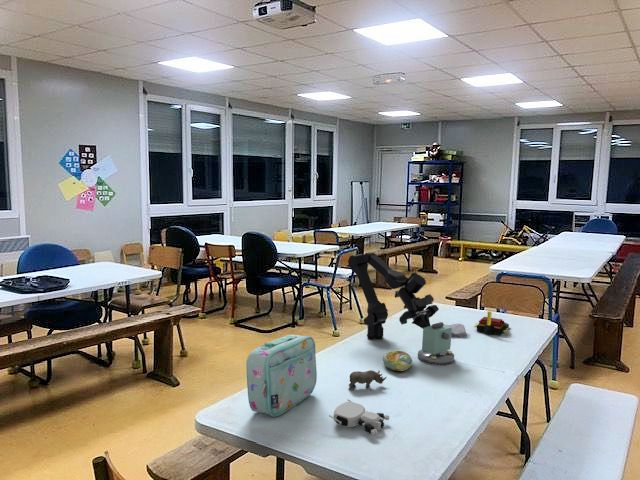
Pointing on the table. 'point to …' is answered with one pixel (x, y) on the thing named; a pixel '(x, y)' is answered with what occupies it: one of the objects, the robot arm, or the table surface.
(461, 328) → the stone block
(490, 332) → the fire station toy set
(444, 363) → the dark grey disc
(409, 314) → the robot arm
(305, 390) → the lunch box
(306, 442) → the table surface
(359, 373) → the rhino figurine
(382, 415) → the robot toy
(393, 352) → the cell model
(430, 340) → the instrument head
